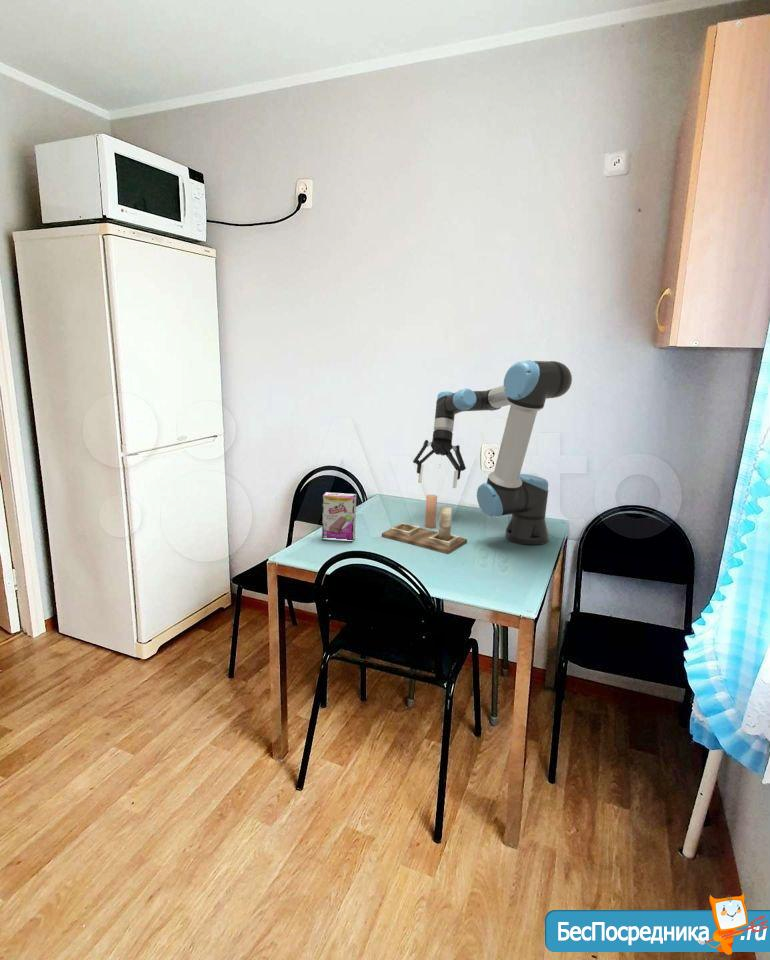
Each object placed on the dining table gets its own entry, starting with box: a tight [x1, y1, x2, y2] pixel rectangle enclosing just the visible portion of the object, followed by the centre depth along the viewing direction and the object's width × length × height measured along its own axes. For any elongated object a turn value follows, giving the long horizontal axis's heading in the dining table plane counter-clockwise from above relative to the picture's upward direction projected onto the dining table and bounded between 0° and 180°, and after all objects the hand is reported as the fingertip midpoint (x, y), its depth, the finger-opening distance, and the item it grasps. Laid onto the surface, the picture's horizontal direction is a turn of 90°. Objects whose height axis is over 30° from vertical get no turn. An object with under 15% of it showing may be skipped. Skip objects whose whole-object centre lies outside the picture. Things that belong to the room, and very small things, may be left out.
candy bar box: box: [321, 491, 357, 541], centre depth 195 cm, size 11×5×16 cm, turn 84°
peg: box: [424, 494, 438, 529], centre depth 212 cm, size 4×4×12 cm
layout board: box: [381, 506, 468, 555], centre depth 198 cm, size 27×14×13 cm, turn 56°
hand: (437, 484), depth 213 cm, fingers open, 13 cm apart
